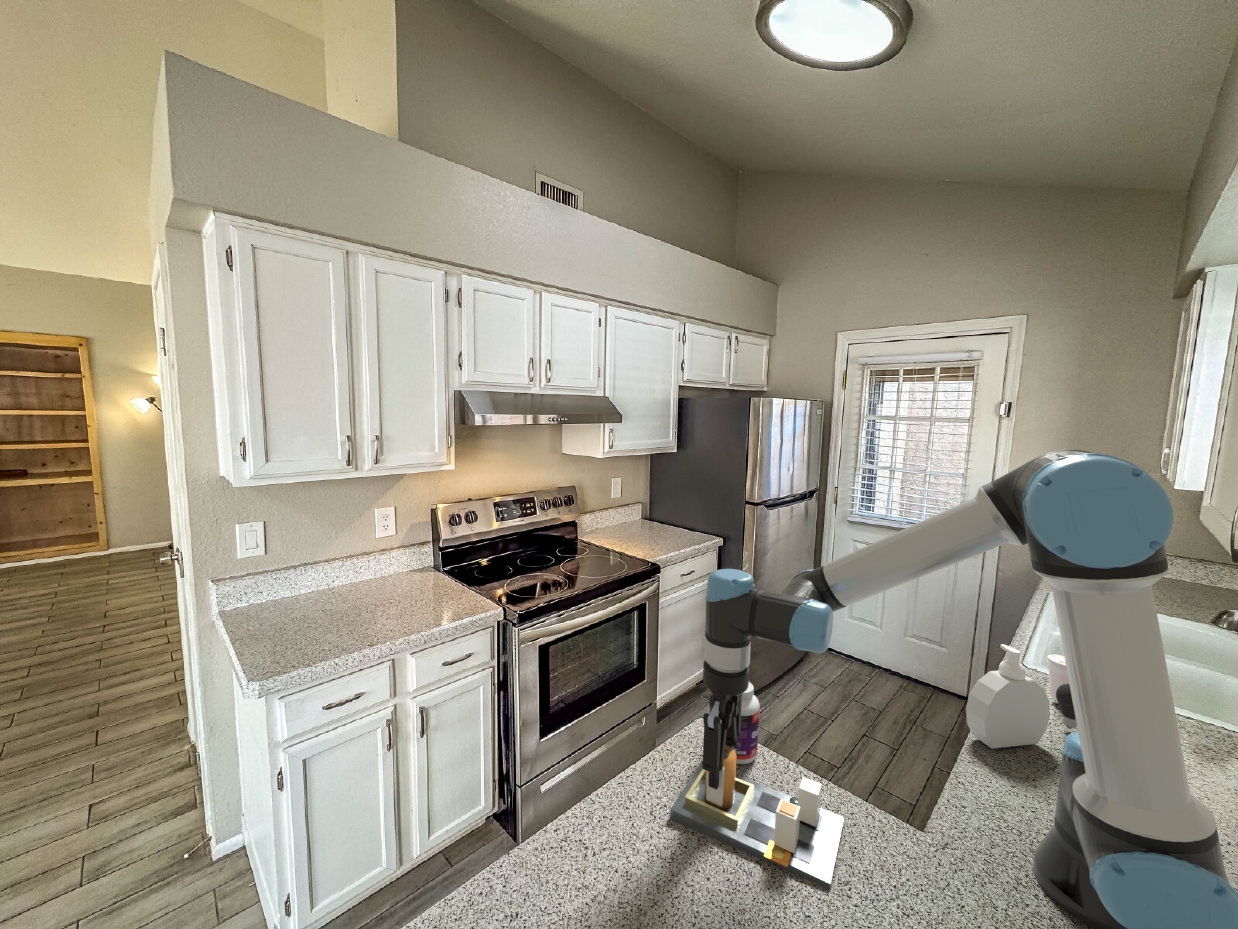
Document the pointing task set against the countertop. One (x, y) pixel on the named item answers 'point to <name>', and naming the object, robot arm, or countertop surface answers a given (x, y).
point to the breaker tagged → (787, 825)
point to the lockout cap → (727, 778)
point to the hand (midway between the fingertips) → (720, 791)
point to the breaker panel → (761, 827)
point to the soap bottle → (1008, 706)
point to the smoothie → (1057, 673)
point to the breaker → (809, 801)
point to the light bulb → (1066, 706)
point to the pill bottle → (748, 727)
